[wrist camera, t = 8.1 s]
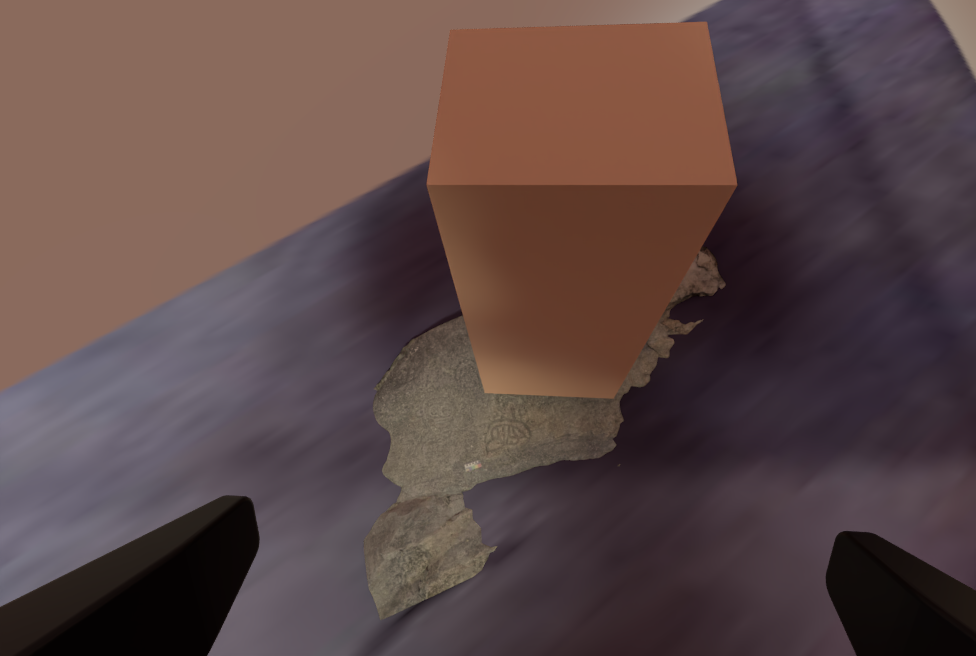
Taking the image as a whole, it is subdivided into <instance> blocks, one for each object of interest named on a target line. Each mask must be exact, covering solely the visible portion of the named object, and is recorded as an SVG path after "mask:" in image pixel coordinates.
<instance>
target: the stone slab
mask: <svg viewBox="0 0 976 656" xmlns="http://www.w3.org/2000/svg"><path fill="white" fill-rule="evenodd" d="M717 265H718V264H717V261H716V258H715V256H714V255H713V254H712V253H711V252H710V251H709V250H708V249H707V247H703V246H702V247H701V249H700V251H699V252H698V254H697V256H696V258H695V259H694V261H693V263H692V264H691V266H690V268H689V270H688V271H687V273H686V275H685V276H684V278H683V280H682V282H681V283H680V285H679V287H678V289H677V290H676V292H675V294H674V295H673V297H672V299H671V301H670V302H669V304H668V306H667V307H666V309H665V311H664V313H663V314H662V316H661V318H660V319H659V321H658V323H657V325H656V326H655V328H654V330H653V332H652V333H651V335H650V337H649V338H648V340H647V342H646V344H645V345H644V347H643V349H642V350H641V352H640V354H639V356H638V357H637V359H636V361H635V363H634V364H633V366H632V368H631V369H630V371H629V373H628V375H627V376H626V378H625V380H624V381H623V383H622V385H621V387H620V388H619V390H618V392H617V394H616V395H615V397H614V399H609V398H586V397H562V396H539V395H516V394H493V393H485V392H484V388H483V385H482V381H481V378H480V374H479V371H478V367H477V363H476V360H475V356H474V353H473V349H472V346H471V342H470V338H469V335H468V331H467V328H466V324H465V321H464V317H463V315H462V316H460V317H458V318H455V319H453V320H451V321H449V322H446V323H444V324H442V325H439V326H437V327H435V328H433V329H431V330H429V331H427V332H426V333H424V334H422V335H421V336H419V337H417V338H415V339H412V340H411V341H410V342H409V344H408V345H407V346H405V347H403V349H402V351H401V353H400V354H399V355H398V357H397V358H396V359H395V360H394V362H393V363H392V365H391V367H390V370H389V371H387V372H386V373H385V375H384V376H383V378H382V380H381V381H380V382H379V384H378V385H377V386H376V387H375V388H374V389H376V390H377V393H376V395H375V398H374V402H373V411H374V414H375V418H376V420H377V422H378V423H379V424H380V425H381V426H382V427H383V428H384V429H386V430H387V431H388V432H389V433H390V436H391V446H390V451H389V454H388V458H387V461H386V463H385V464H384V466H383V469H382V471H383V475H384V476H386V477H387V478H388V479H389V480H390V481H392V482H393V483H394V484H396V485H398V486H401V489H402V490H401V493H400V495H399V497H398V499H397V503H395V504H393V505H392V506H391V507H390V508H389V509H388V510H387V511H386V512H384V513H383V514H381V515H380V517H379V518H378V519H377V521H376V522H375V524H374V525H373V527H372V529H371V531H370V533H369V534H368V535H367V536H366V538H365V539H364V554H365V564H366V571H367V580H368V586H369V590H370V592H371V594H372V596H373V599H374V601H375V604H376V607H377V610H378V613H379V616H380V620H382V619H385V618H387V617H389V616H391V615H394V614H396V613H398V612H400V611H402V610H404V609H406V608H409V607H411V606H413V605H415V604H417V603H419V602H421V601H423V600H425V599H428V598H430V597H432V596H434V595H436V594H438V593H440V592H442V591H445V590H447V589H449V588H451V587H453V586H455V585H457V584H459V583H461V582H463V581H465V580H467V579H469V578H472V577H474V576H475V575H476V574H477V573H478V572H480V571H481V570H482V569H483V566H484V564H485V562H486V561H487V559H488V556H489V554H490V553H491V552H493V551H495V549H496V548H497V546H495V547H489V546H487V545H484V544H482V543H481V528H480V527H479V526H478V525H477V523H476V522H475V521H474V520H473V518H472V510H471V509H468V508H465V506H464V502H463V494H462V492H463V491H467V490H470V489H472V488H473V487H474V486H475V485H476V484H477V483H481V482H485V481H487V480H490V479H494V478H502V477H506V476H511V475H515V474H517V473H520V472H523V471H525V470H528V469H531V468H533V467H536V466H544V465H550V464H552V463H555V462H558V461H560V460H572V461H576V460H586V459H589V458H591V459H595V458H600V457H601V456H603V455H605V454H606V453H607V452H610V451H612V450H613V449H614V447H615V446H616V444H615V442H614V441H613V438H614V437H616V436H617V433H618V430H619V427H620V423H621V422H623V421H624V420H623V417H622V414H621V411H620V403H619V402H620V400H621V398H622V396H623V394H625V393H628V391H629V389H630V387H631V386H636V387H643V386H645V385H646V384H647V383H648V382H649V381H650V374H651V372H652V371H653V369H654V368H655V367H656V365H657V359H658V357H662V358H668V357H669V351H670V348H671V347H672V346H673V344H674V339H671V338H669V337H668V335H672V334H688V333H689V332H690V331H691V330H692V329H693V328H694V327H695V326H696V325H697V324H698V323H700V322H701V321H702V320H700V321H697V322H696V323H693V322H690V323H688V324H686V325H685V324H681V323H680V321H679V320H672V319H668V318H669V317H670V315H669V313H670V310H671V309H672V308H673V307H674V306H675V305H677V304H678V303H680V302H682V301H685V300H686V299H688V298H690V297H692V296H700V297H701V296H706V295H707V296H713V295H714V293H715V292H716V291H717V289H718V287H720V289H723V288H724V286H725V285H726V284H725V282H724V281H723V279H722V277H721V276H720V274H719V272H718V270H717ZM703 320H704V319H703ZM618 466H620V464H619V465H618Z"/></svg>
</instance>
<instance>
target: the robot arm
mask: <svg viewBox="0 0 976 656" xmlns="http://www.w3.org/2000/svg"><path fill="white" fill-rule="evenodd" d="M259 540H260V538H259V531H258V526H257V521H256V516H255V510H254V505H253V502H252V500H251V499H250V498H248V497H246V496H231V495H226V496H222V497H220V498H218V499H216V500H214V501H212V502H210V503H208V504H206V505H204V506H202V507H200V508H198V509H196V510H194V511H192V512H190V513H188V514H186V515H184V516H182V517H180V518H178V519H176V520H174V521H172V522H170V523H168V524H166V525H164V526H162V527H160V528H158V529H156V530H154V531H152V532H150V533H148V534H145V535H143V536H141V537H139V538H137V539H135V540H133V541H131V542H129V543H127V544H125V545H123V546H121V547H119V548H117V549H115V550H113V551H111V552H109V553H107V554H105V555H103V556H101V557H99V558H97V559H95V560H93V561H91V562H89V563H87V564H85V565H83V566H81V567H79V568H77V569H75V570H73V571H71V572H69V573H67V574H65V575H63V576H61V577H59V578H57V579H55V580H53V581H51V582H49V583H47V584H45V585H43V586H41V587H39V588H37V589H35V590H33V591H31V592H29V593H27V594H25V595H23V596H21V597H19V598H17V599H15V600H13V601H11V602H9V603H7V604H5V605H3V606H1V607H0V656H207V655H208V653H209V651H210V650H211V648H212V646H213V644H214V642H215V640H216V638H217V636H218V634H219V632H220V630H221V628H222V626H223V623H224V621H225V619H226V617H227V615H228V613H229V611H230V609H231V607H232V605H233V602H234V600H235V598H236V596H237V594H238V592H239V590H240V588H241V586H242V584H243V581H244V579H245V577H246V575H247V573H248V571H249V569H250V567H251V565H252V563H253V560H254V558H255V556H256V554H257V551H258V548H259ZM826 586H827V590H828V593H829V596H830V598H831V600H832V602H833V604H834V607H835V609H836V611H837V613H838V615H839V618H840V620H841V622H842V624H843V627H844V629H845V631H846V633H847V635H848V638H849V640H850V642H851V644H852V646H853V649H854V651H855V653H856V655H857V656H976V591H975V590H974V589H972V588H970V587H968V586H967V585H965V584H963V583H961V582H959V581H958V580H956V579H954V578H952V577H951V576H949V575H947V574H945V573H943V572H942V571H940V570H938V569H936V568H935V567H933V566H931V565H929V564H927V563H926V562H924V561H922V560H920V559H919V558H917V557H915V556H913V555H911V554H910V553H908V552H906V551H904V550H903V549H901V548H899V547H897V546H895V545H894V544H892V543H890V542H888V541H887V540H885V539H883V538H881V537H879V536H878V535H876V534H873V533H869V532H854V531H843V532H840V533H839V534H838V535H837V536H836V539H835V542H834V546H833V549H832V553H831V557H830V561H829V565H828V568H827V572H826Z"/></svg>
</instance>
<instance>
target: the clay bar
mask: <svg viewBox="0 0 976 656" xmlns="http://www.w3.org/2000/svg"><path fill="white" fill-rule="evenodd" d="M736 187H737V179H736V174H735V169H734V164H733V158H732V153H731V148H730V142H729V137H728V132H727V127H726V121H725V116H724V111H723V105H722V100H721V95H720V89H719V84H718V79H717V74H716V68H715V63H714V58H713V52H712V47H711V42H710V37H709V31H708V26H707V22H685V23H654V24H620V25H590V26H589V25H588V26H560V27H559V26H557V27H527V28H526V27H524V28H493V29H460V30H450V35H449V41H448V48H447V55H446V61H445V67H444V74H443V81H442V87H441V93H440V100H439V106H438V113H437V119H436V126H435V133H434V140H433V146H432V153H431V158H430V165H429V171H428V178H427V189H428V192H429V196H430V199H431V203H432V206H433V210H434V214H435V217H436V221H437V224H438V228H439V231H440V235H441V239H442V242H443V246H444V249H445V253H446V256H447V260H448V264H449V267H450V271H451V274H452V278H453V281H454V285H455V289H456V292H457V296H458V299H459V303H460V306H461V310H462V314H463V317H464V321H465V324H466V328H467V331H468V335H469V338H470V342H471V346H472V349H473V353H474V356H475V360H476V363H477V367H478V371H479V374H480V378H481V381H482V385H483V388H484V392H485V393H493V394H516V395H539V396H562V397H586V398H609V399H614V397H615V395H616V394H617V392H618V390H619V388H620V387H621V385H622V383H623V381H624V380H625V378H626V376H627V375H628V373H629V371H630V369H631V368H632V366H633V364H634V363H635V361H636V359H637V357H638V356H639V354H640V352H641V350H642V349H643V347H644V345H645V344H646V342H647V340H648V338H649V337H650V335H651V333H652V332H653V330H654V328H655V326H656V325H657V323H658V321H659V319H660V318H661V316H662V314H663V313H664V311H665V309H666V307H667V306H668V304H669V302H670V301H671V299H672V297H673V295H674V294H675V292H676V290H677V289H678V287H679V285H680V283H681V282H682V280H683V278H684V276H685V275H686V273H687V271H688V270H689V268H690V266H691V264H692V263H693V261H694V259H695V258H696V256H697V254H698V252H699V251H700V249H701V247H702V245H703V244H704V242H705V240H706V239H707V237H708V235H709V233H710V232H711V230H712V228H713V227H714V225H715V223H716V221H717V220H718V218H719V216H720V214H721V213H722V211H723V209H724V208H725V206H726V204H727V202H728V201H729V199H730V197H731V196H732V194H733V192H734V190H735V189H736Z"/></svg>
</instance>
